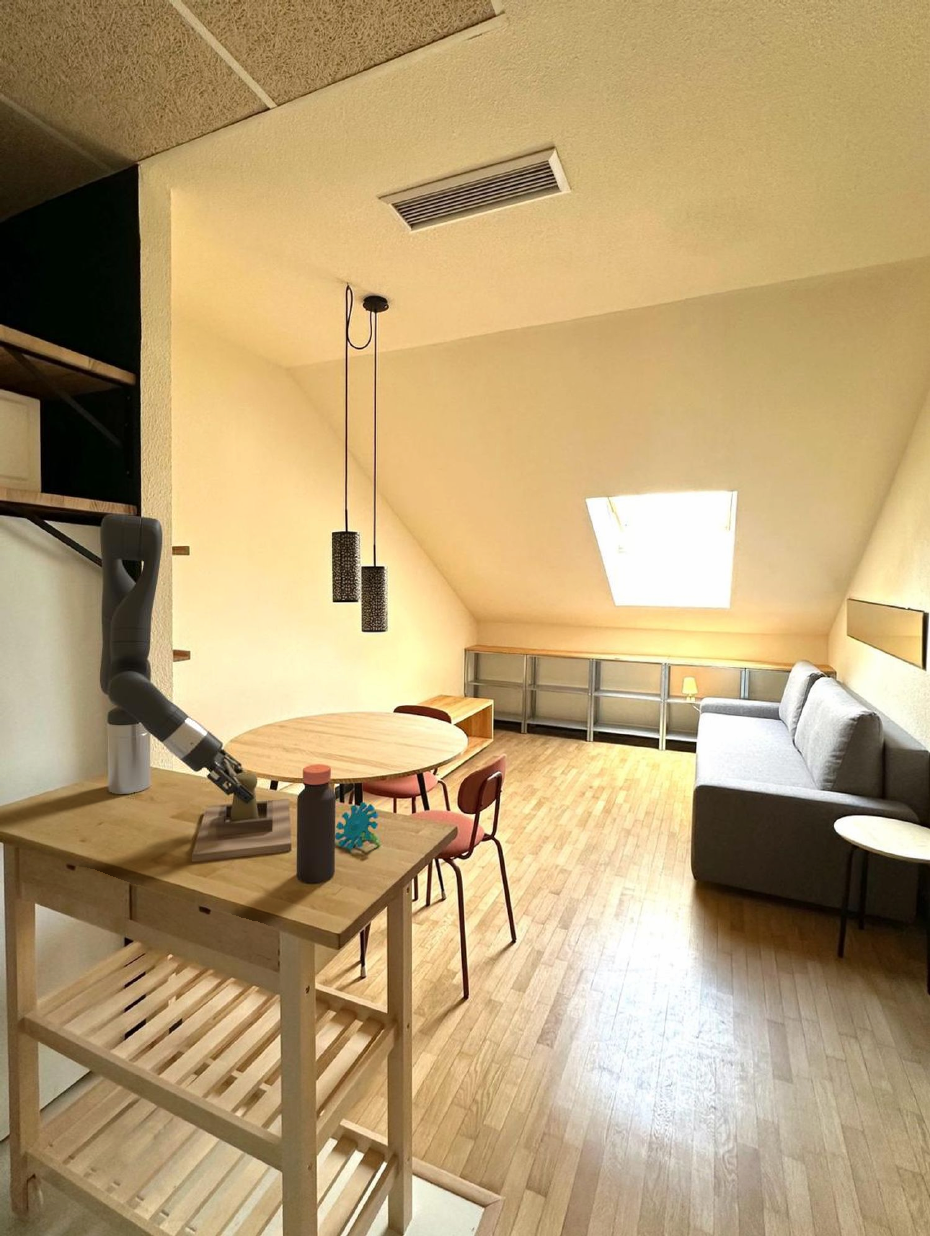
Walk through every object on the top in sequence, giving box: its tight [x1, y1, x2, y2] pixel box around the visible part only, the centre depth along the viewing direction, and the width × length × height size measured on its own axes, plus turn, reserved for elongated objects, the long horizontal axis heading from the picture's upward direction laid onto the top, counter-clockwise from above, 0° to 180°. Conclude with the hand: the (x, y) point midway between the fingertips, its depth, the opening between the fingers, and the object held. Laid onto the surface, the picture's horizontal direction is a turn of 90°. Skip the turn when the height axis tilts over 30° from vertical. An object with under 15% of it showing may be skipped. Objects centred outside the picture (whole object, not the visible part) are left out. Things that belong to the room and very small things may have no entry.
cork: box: [230, 771, 259, 821], centre depth 121 cm, size 6×6×11 cm
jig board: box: [191, 798, 292, 863], centre depth 122 cm, size 24×18×4 cm
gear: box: [335, 801, 382, 851], centre depth 118 cm, size 11×6×10 cm
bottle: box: [296, 763, 337, 885], centre depth 104 cm, size 7×7×20 cm
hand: (251, 792), depth 122 cm, fingers open, 8 cm apart
